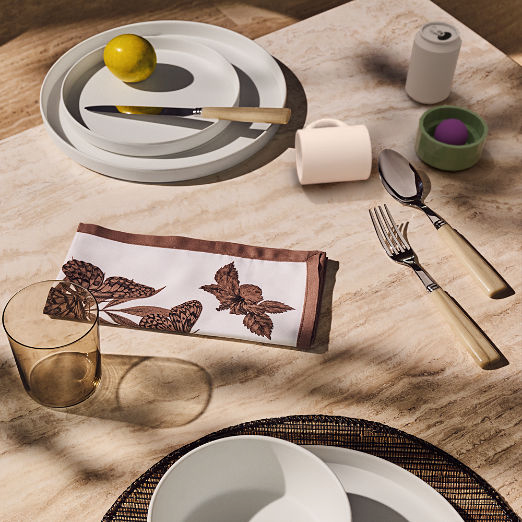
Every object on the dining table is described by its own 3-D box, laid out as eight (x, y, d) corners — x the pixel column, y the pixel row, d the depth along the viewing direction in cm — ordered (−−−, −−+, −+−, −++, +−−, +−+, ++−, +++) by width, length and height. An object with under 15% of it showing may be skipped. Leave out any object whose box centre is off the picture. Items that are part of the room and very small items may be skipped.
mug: (368, 190, 101) (374, 148, 95) (301, 195, 100) (303, 154, 94) (352, 138, 109) (357, 97, 103) (290, 143, 108) (292, 101, 102)
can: (432, 112, 113) (447, 48, 104) (395, 94, 116) (406, 31, 107) (457, 92, 116) (473, 28, 107) (420, 75, 120) (432, 12, 110)
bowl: (468, 128, 110) (475, 102, 106) (489, 170, 103) (497, 144, 100) (406, 133, 109) (411, 107, 105) (423, 176, 103) (429, 150, 99)
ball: (458, 137, 108) (465, 111, 104) (468, 157, 105) (476, 131, 101) (427, 139, 107) (433, 113, 104) (436, 159, 104) (443, 133, 100)
